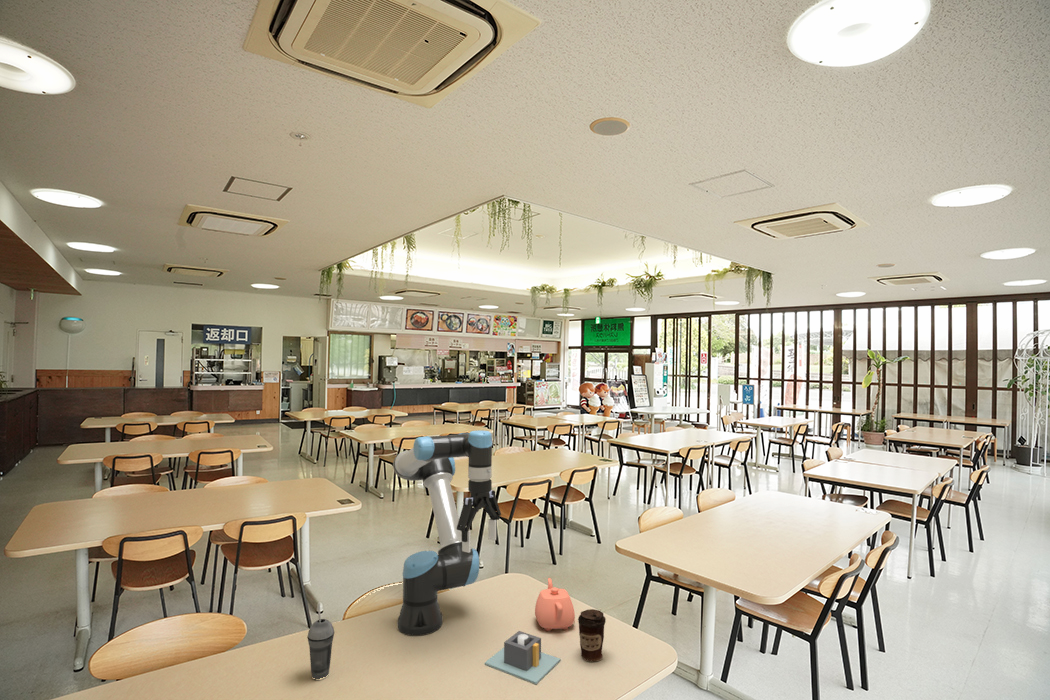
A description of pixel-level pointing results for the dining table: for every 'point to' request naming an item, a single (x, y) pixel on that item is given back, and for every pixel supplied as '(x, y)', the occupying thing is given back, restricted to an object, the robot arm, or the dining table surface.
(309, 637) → the beverage cup
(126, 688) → the dining table surface
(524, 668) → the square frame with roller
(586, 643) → the coffee cup
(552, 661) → the board
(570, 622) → the teapot
